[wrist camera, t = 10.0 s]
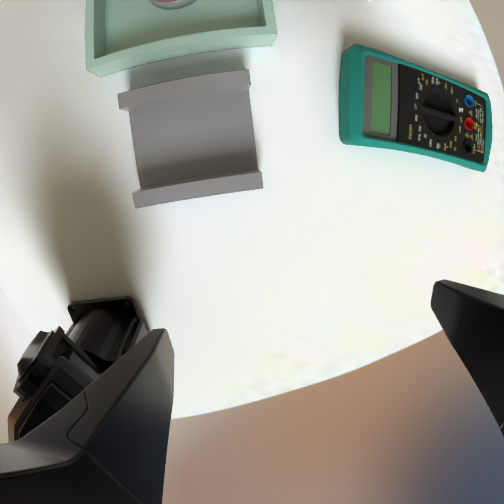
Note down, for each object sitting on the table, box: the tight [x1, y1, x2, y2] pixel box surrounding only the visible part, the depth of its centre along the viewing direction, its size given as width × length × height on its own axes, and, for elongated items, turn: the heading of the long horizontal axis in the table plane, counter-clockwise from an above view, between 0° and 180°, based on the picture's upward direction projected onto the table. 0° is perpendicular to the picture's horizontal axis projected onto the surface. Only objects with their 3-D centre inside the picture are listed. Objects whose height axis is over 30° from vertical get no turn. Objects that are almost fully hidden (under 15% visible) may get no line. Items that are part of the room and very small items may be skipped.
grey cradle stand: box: [118, 70, 263, 208], centre depth 17 cm, size 8×7×2 cm
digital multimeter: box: [339, 44, 492, 172], centre depth 18 cm, size 7×15×3 cm, turn 88°
